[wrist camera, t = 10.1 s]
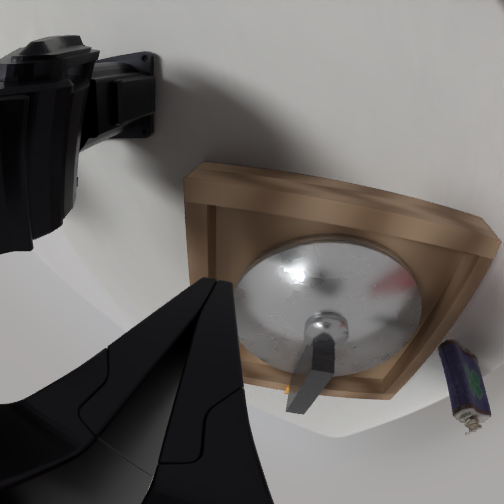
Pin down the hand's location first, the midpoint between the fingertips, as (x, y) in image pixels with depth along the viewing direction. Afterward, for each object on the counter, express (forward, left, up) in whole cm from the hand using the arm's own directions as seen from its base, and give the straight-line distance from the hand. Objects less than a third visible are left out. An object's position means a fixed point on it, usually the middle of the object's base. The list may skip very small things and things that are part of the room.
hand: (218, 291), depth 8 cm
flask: (+25, -18, -13) cm, 34 cm away
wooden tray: (+6, -12, -13) cm, 19 cm away
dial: (+6, -12, -11) cm, 18 cm away
